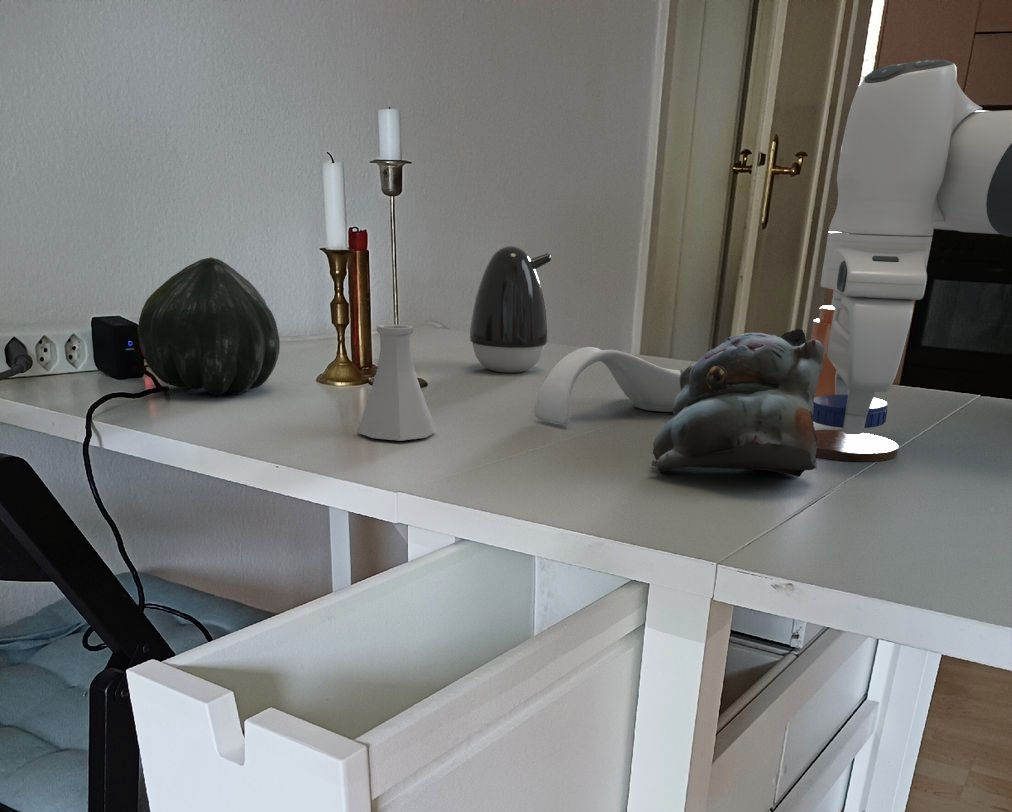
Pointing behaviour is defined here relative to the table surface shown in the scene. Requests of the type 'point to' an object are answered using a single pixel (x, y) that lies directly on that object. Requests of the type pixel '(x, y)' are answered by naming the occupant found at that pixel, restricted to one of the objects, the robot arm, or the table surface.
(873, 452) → the coaster
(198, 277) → the squash
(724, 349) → the lucky cat figurine
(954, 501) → the table surface
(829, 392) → the jar
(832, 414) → the jar lid
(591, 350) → the spoon rest
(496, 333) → the pump dispenser
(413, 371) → the flask
